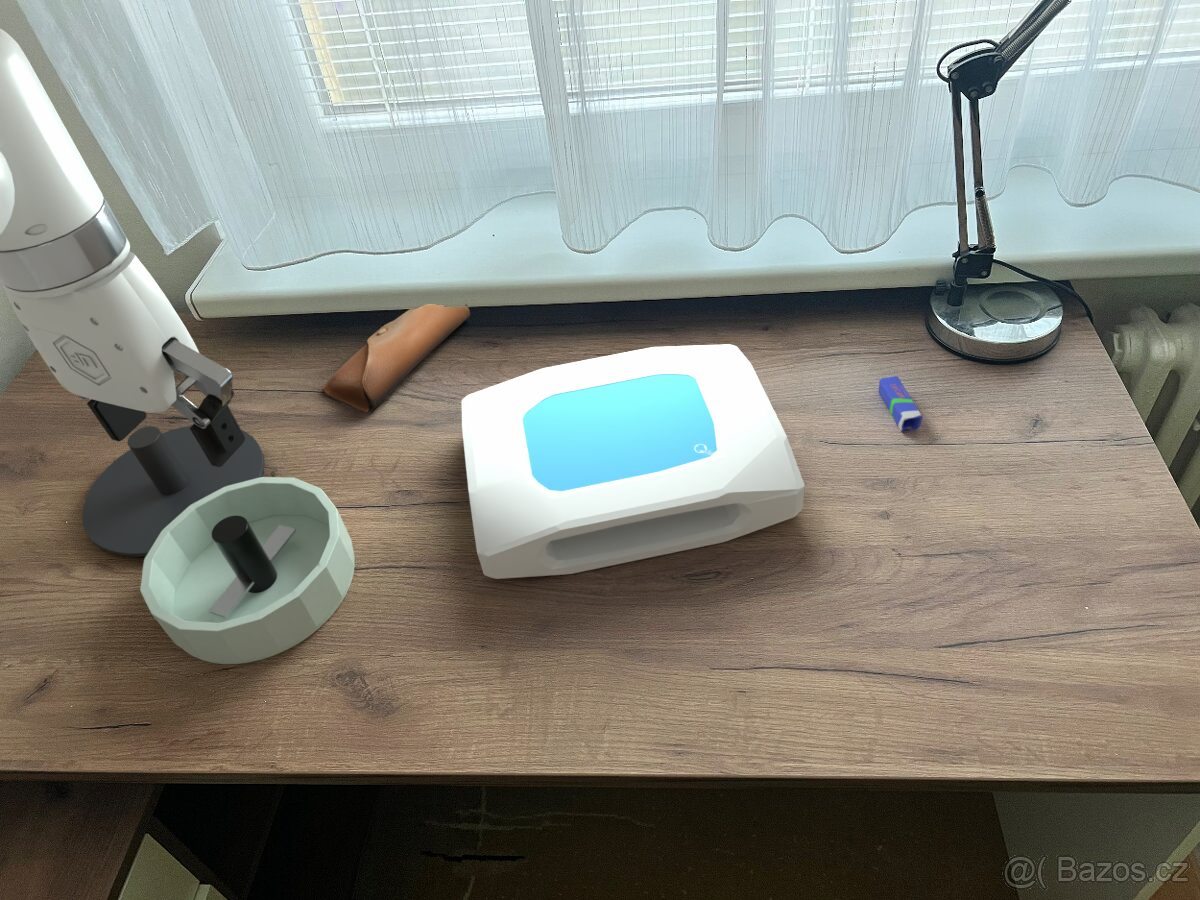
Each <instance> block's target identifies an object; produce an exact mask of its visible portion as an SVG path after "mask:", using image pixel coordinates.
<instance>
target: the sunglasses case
mask: <svg viewBox="0 0 1200 900" xmlns="http://www.w3.org/2000/svg"><path fill="white" fill-rule="evenodd" d="M423 305H424V306H423ZM423 305H420V306H421V307H419V308H417V309H412V308H410V309H408V310H406V311H405V312H404V313H402V314H401V315H399V316H398V317H396V319H394V320H392V321H390V322H388V323H386V324H384V325H383V326H381V327H380V328H379V329H377V330H376V331H375V332H374V333H373V334H372V335H371V336H369V337H368V338H367V340H366V344H365V345H364V346H363V347H361V348H360V349H359V350H358V351H356V352H355V353H354V354H353V355H352V356H351V357H350V358H349V359H347V361H346V362H344V363H343V365H341V366H340V367H339V368H338V369H337V370H336V371H335V372H334V373H333V374H332V375H331V376H330V377H329V378H328V380H327V381H326V382H325V384H324V385H323V386H322V391H323V393H324V395H326V396H329V397H330V398H332V399H334V400H336V401H338V402H340V403H343V404H345V405H346V406H349V407H351V408H353V409H355V410H357V411H361V412H363V413H366V414H368V413H372V412H373V410H374V409H375V408H377V407H378V406H380V405H381V404H382V403H383V402H384V401H385V399H387V398H388V396H389V395H390V394H391V393H392V392H393V391H394V390H395V389H396V388H397V387H398V386H399V384H400V383H401V382H402V381H403V380H405V378H406V377H407V376H408V375H409V374H410V373H411V372H412V370H413V369H415V368H416V367H417V366H418V365H419V364H420V363H421V362H422V361H424V360H425V359H426V357H428V356H429V355H430V354H431V353H432V351H434V350H435V348H437V347H438V346H439V345H440V344H442V343H443V341H445V340H446V339H447V338H448V337H449V336H450V335H451V334H452V333H453V332H454V331H455V330H456V329H458V328H459V327H460V326H461V325H462V324H463V323H464V322H465V321H466V320H467V319H469V318H470V316H471V312H470V308H469V307H444V305H436V304H428V303H426V304H423Z"/></svg>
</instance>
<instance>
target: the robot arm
mask: <svg viewBox="0 0 1200 900" xmlns="http://www.w3.org/2000/svg"><path fill="white" fill-rule="evenodd" d="M130 250H131V243H130V241H129V240H128V238H127V236H126V234H125V232H124V230H123V228H122V226H121V224H120V222H119V221H118V220H117V218H116V215H115V214H114V212H113V210H112V209H111V207H110V205H109V203H108V201H107V199H106V198H105V196H104V194H103V192H102V191H101V189H100V187H99V185H98V183H97V182H96V180H95V178H94V176H93V175H92V173H91V171H90V169H89V167H88V166H87V164H86V162H85V160H84V158H83V157H82V155H81V153H80V151H79V150H78V148H77V145H76V144H75V142H74V140H73V138H72V137H71V135H70V134H69V132H68V129H67V128H66V126H65V125H64V123H63V120H62V118H61V116H60V115H59V113H58V111H57V109H56V108H55V105H54V104H53V102H52V101H51V99H50V97H49V95H48V94H47V91H46V90H45V88H44V86H43V84H42V82H41V81H40V79H39V77H38V75H37V73H36V71H35V70H34V67H33V66H32V65H31V63H30V60H29V58H28V57H27V55H26V53H24V51H23V49H22V48H21V46H20V44H19V42H17V41H16V40H15V39H14V38H13V37H12V36H11V35H10V34H9V33H8V32H7V31H5V30H3V29H2V28H0V283H1V285H2V288H3V290H4V293H5V295H6V297H7V299H8V301H9V303H10V306H11V308H12V309H13V311H14V313H15V315H16V318H17V319H18V321H19V323H20V324H21V326H22V328H23V329H24V331H25V332H26V334H27V336H28V337H29V339H30V340H31V344H32V346H33V347H34V348H35V349H36V350H37V352H38V353H39V355H40V356H41V358H42V359H43V361H44V362H45V364H46V366H47V367H48V368H49V370H50V372H51V373H52V374H53V376H54V377H55V379H56V381H58V383H59V384H60V386H61V387H62V388H63V389H65V390H66V391H68V392H69V393H71V394H73V395H75V396H77V397H79V399H81V400H83V401H87V403H86V405H87V406H88V408H89V409H90V410H91V412H92V413H93V415H94V416H95V417H96V420H98V422H99V424H100V425H101V426H102V428H103V429H104V431H105V432H106V433H107V435H108V436H109V437H110V439H111V440H112V441H115V442H121V441H124V439H125V438H126V437H128V436H129V435H131V434H132V433H133V431H134V430H135V429H136V428H137V427H138V426H139V425H140V424H141V423H142V422H143V421H145V419H146V418H147V415H148V414H147V413H151V414H159V413H165V412H166V411H168V410H169V409H170V407H171V406H172V407H173V409H175V410H176V411H177V412H179V413H180V414H181V415H183V416H184V417H185V418H186V419H187V420H189V421H190V422H191V423H192V424H191V425H192V426H191V428H190V430H191V432H192V433H193V435H194V437H195V438H196V440H197V442H198V443H199V445H200V447H201V448H202V450H203V452H204V453H205V455H206V457H207V458H208V460H209V462H210V463H211V465H212V466H216V467H221V466H223V465H224V463H225V462H226V461H227V460H228V459H229V458H230V457H231V456H232V455H233V454H234V453H235V451H236V450H237V449H238V448H239V447H240V446H241V445H242V444H243V443H244V441H245V436H244V434H243V433H242V431H241V430H242V429H241V427H240V425H239V423H238V422H237V420H236V418H235V416H234V414H233V412H232V411H231V409H230V407H229V405H230V404H231V403H232V399H233V397H234V396H235V392H234V390H233V374H232V372H231V371H230V370H229V369H228V368H227V367H224V366H222V365H220V364H219V363H217V362H215V361H214V360H212V359H210V358H208V357H206V356H205V355H203V354H201V353H200V351H199V350H198V347H197V345H196V343H195V341H194V339H193V337H192V336H191V334H190V332H189V331H188V329H187V327H186V325H185V324H184V323H183V321H182V320H181V317H180V316H179V314H178V313H177V311H176V310H175V308H174V306H173V305H172V304H171V302H170V300H169V299H168V297H167V296H166V295H165V293H164V292H163V290H162V288H161V287H160V286H159V284H158V283H157V281H156V280H155V279H154V277H153V276H152V274H151V273H150V272H149V271H148V269H147V268H146V267H145V266H144V264H143V263H142V262H141V260H140V259H139V258H138V257H137V255H136V254H135V253H134V252H132V251H130ZM176 374H177V375H182V376H184V377H185V378H184V379H183V380H182V381H180V382H179V384H177V385H176V382H175V381H176V380H175V375H176ZM192 386H193V387H194V388H196V390H198V391H199V392H200V393H202V394H203V395H204V396H205V398H204V399H202V401H201V403H200V405H199V406H197V405H195V404H194V403H192V402H191V401H190V400H188V399H187V398H186V397H185V396H184V394H185V393H187V391H189V389H190V388H191V387H192ZM88 400H89V401H88Z"/></svg>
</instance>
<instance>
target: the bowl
mask: <svg viewBox="0 0 1200 900" xmlns="http://www.w3.org/2000/svg"><path fill="white" fill-rule="evenodd" d="M230 516H242V517H244V518H245V519H246V520H247V521H248V523H249V525H250V527H251V528H252V530H253V532H254V533H255V535H256V537H257V539H258V540H259V542H260V544H261V545H263V544H264V543H265V542H266V541H267V539H268V538H269V537H270V536H271V534H272V533H273V532H274V531H275V530H276V528H277V527H278V526H279V525H284V526H287V527H291V528H295V529H296V532H295V533H294V535H293V536H292V537H291V538H290V540H289V541H288V542H287V543H286V545H285V546H284V547H283V548H282V550H281V551H280V552H279V553H278V554H277V556H276V557H275V558H274V559H273V561H272V562H271V563H272V564H273V566H274V568H275V569H276V571H277V579H276V581H275V583H274V584H273V585H272V586H271V587H270V588H269V589H267V590H265V591H263V592H260V593H250V592H247V593H246V594H245V596H244V597H243V598H242V599H241V601H240V602H239V603H238V604H237V606H236V607H235V608H234V609H233V611H232V612H231V613H230V614H229V616H228V617H227V618H224V617H221V616H218V615H215V614H212V613H210V612H209V610H210V609H211V607H212V606H213V605H214V604H215V602H216V601H217V600H218V599H219V598H220V596H221V595H222V594H223V593H224V592H225V590H226V589H227V588H228V587H229V585H230V584H231V583H232V582H233V581H234V579H235V578H236V577H237V576H236V575H235V573H234V571H233V570H232V568H231V567H230V565H229V564H228V562H227V560H226V559H225V557H224V556H223V554H222V553H221V551H220V550H219V548H218V546H217V545H216V543H215V542H214V540H213V539H212V530H213V528H214V527H215V525H216V524H217V523H218V522H220V521H221V520H223V519H224V518H227V517H230ZM355 566H356V557H355V553H354V546H353V540H352V538H351V536H350V534H349V532H348V530H347V527H346V525H345V523H344V522H343V519H342V517H341V515H340V513H339V510H338V508H337V506H335V504H334V503H333V502H332V501H331V500H330V498H329V496H328V495H327V494H326V492H325V491H324V490H323V489H322V488H321V487H318V486H316V485H313V484H312V483H308V482H306V481H303V480H302V479H298V478H297V477H280V476H277V477H275V476H274V477H273V476H263V477H260V478H256V479H252V480H248V481H244V482H240V483H237V484H233V485H229V486H226V487H223V488H221V489H219V490H218V491H216V492H214V493H212V494H210V495H208V496H206V497H204V498H203V499H201V500H199V501H197V502H195V503H193V504H191V505H190V506H189V507H187V508H186V509H185V510H184V511H183V512H182V513H181V514H180V515H179V516H177V517H176V518H175V519H174V520H173V521H172V522H171V523H170V524H169V525H167V526H166V527H165V528H164V529H163V530H162V531H161V533H160V534H159V536H158V538H157V539H156V541H155V543H154V544H153V546H152V547H151V549H150V551H149V552H148V554H147V556H144V559H143V563H142V571H141V572H142V573H141V579H140V586H139V592H140V593H141V595H142V598H143V600H144V602H145V604H146V605H147V608H148V610H149V612H150V613H151V615H152V617H153V618H154V620H155V621H157V623H158V624H159V625H160V627H161V628H162V629H163V630H164V632H165V633H166V634H167V636H168V637H169V638H170V639H171V641H172V642H173V643H174V645H175V646H177V647H179V648H180V649H182V650H183V651H184V652H186V653H187V654H189V655H190V656H191V657H194V658H196V659H199V660H201V661H204V662H208V663H212V664H219V665H239V664H248V663H253V662H257V661H262V660H265V659H268V658H270V657H274V656H277V655H279V654H280V653H283V652H285V651H287V650H290V649H291V648H293V647H295V646H296V645H299V644H300V643H302V642H303V641H304V640H306V639H308V638H309V637H310V636H312V635H313V634H314V633H315V632H317V631H318V630H319V629H320V628H321V627H323V625H325V623H326V622H328V621H329V619H331V617H332V616H333V615H334V614H335V612H336V611H337V610H338V609H339V607H340V606H341V604H342V603H343V601H344V600H345V598H346V596H347V594H348V592H349V589H350V588H351V585H352V581H353V578H354V573H355Z"/></svg>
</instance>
